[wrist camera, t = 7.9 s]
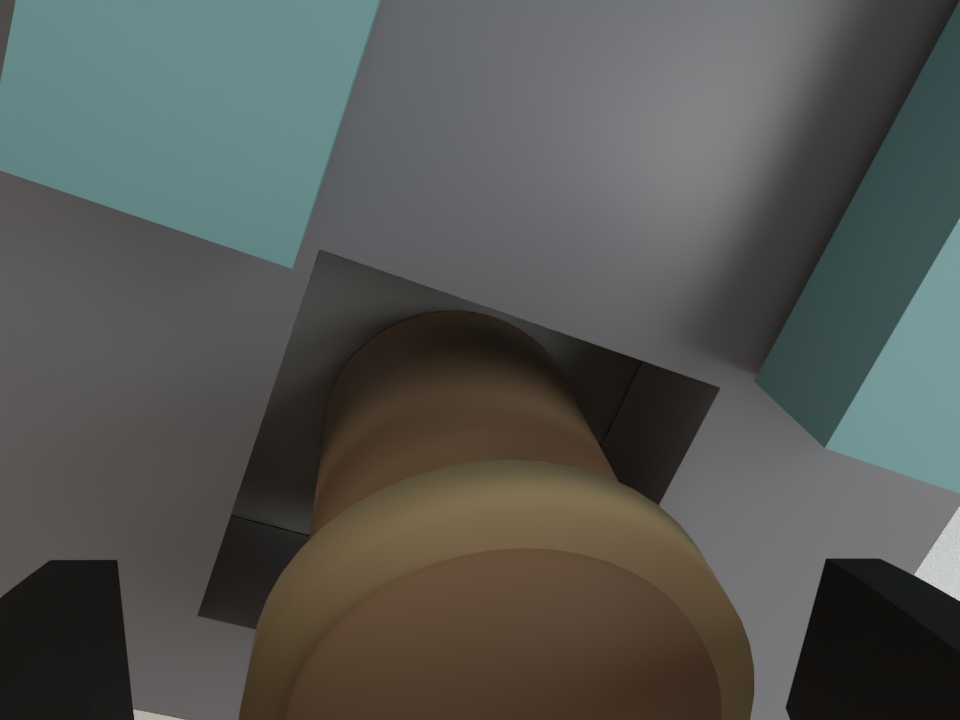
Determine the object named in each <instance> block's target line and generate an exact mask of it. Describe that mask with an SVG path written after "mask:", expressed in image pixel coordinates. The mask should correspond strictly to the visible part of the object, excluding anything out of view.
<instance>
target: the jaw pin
mask: <svg viewBox="0 0 960 720" xmlns="http://www.w3.org/2000/svg"><path fill="white" fill-rule="evenodd" d="M753 699H754V665H753V659H752V653H751V648H750V643H749V640H748V637H747V635H746V632H745V629H744V626H743V624H742V621H741V619H740V617H739V615H738V613H737V612H736V610H735V608H734V606H733V605H732V603H731V601H730V599H729V598H728V596H727V594H726V593H725V591H724V589H723V588H722V586H721V584H720V583H719V581H718V580H717V578H716V576H715V575H714V573H713V571H712V570H711V568H710V566H709V565H708V563H707V562H706V560H705V558H704V557H703V555H702V553H701V552H700V550H699V548H698V547H697V545H696V544H695V542H694V541H693V540H692V539H691V538H690V536H689V535H688V534H687V533H686V531H685V530H684V529H683V528H682V527H681V525H680V524H679V523H678V522H677V521H676V520H674V519H673V518H672V517H671V516H670V515H669V514H668V513H667V512H666V511H664V510H663V509H662V508H661V507H660V506H659V505H657V504H656V503H654V502H653V501H651V500H650V499H648V498H647V497H645V496H644V495H642V494H640V493H639V492H637V491H636V490H634V489H632V488H630V487H628V486H626V485H624V484H621V483H619V482H618V480H617V478H616V476H615V474H614V472H613V470H612V468H611V466H610V464H609V463H608V461H607V459H606V457H605V455H604V453H603V451H602V449H601V447H600V445H599V444H598V442H597V440H596V438H595V436H594V434H593V432H592V430H591V428H590V426H589V424H588V423H587V421H586V419H585V417H584V415H583V413H582V411H581V409H580V407H579V405H578V404H577V402H576V400H575V398H574V396H573V394H572V392H571V390H570V388H569V386H568V385H567V383H566V381H565V379H564V377H563V375H562V373H561V371H560V370H559V368H558V366H557V365H556V363H555V361H554V360H553V359H552V357H551V356H550V355H549V354H548V352H547V351H546V350H545V349H544V348H543V347H542V346H541V345H540V344H539V343H538V342H537V341H536V340H535V339H533V338H532V337H531V336H529V335H528V334H526V333H525V332H524V331H522V330H521V329H519V328H517V327H515V326H513V325H511V324H509V323H507V322H505V321H502V320H500V319H497V318H494V317H491V316H487V315H482V314H478V313H472V312H460V311H450V312H436V313H430V314H424V315H420V316H417V317H413V318H410V319H407V320H404V321H402V322H400V323H397V324H395V325H393V326H391V327H389V328H387V329H386V330H384V331H382V332H381V333H379V334H377V335H376V336H375V337H373V338H372V339H371V340H369V341H368V342H367V343H366V344H364V345H363V346H362V347H361V348H360V349H359V350H358V351H357V352H356V353H355V354H354V355H353V356H352V358H351V359H350V360H349V362H348V363H347V364H346V366H345V367H344V368H343V370H342V371H341V373H340V375H339V377H338V379H337V381H336V382H335V384H334V387H333V390H332V392H331V395H330V398H329V402H328V407H327V411H326V418H325V425H324V433H323V440H322V448H321V455H320V463H319V470H318V478H317V485H316V492H315V500H314V507H313V515H312V522H311V530H310V537H309V541H308V542H307V543H306V544H305V545H304V546H303V547H302V548H301V549H300V550H299V551H298V553H297V554H296V555H295V557H294V558H293V559H292V560H291V562H290V563H289V564H288V565H287V567H286V568H285V569H284V571H283V572H282V573H281V575H280V577H279V578H278V580H277V582H276V584H275V585H274V587H273V589H272V591H271V592H270V594H269V596H268V598H267V600H266V603H265V605H264V608H263V610H262V613H261V616H260V618H259V621H258V624H257V628H256V633H255V638H254V642H253V647H252V652H251V657H250V662H249V667H248V672H247V677H246V682H245V687H244V692H243V697H242V702H241V707H240V712H239V720H750V718H751V712H752V706H753Z"/></svg>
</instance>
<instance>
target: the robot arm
mask: <svg viewBox="0 0 960 720" xmlns="http://www.w3.org/2000/svg"><path fill="white" fill-rule="evenodd" d="M786 711H787V713H788V716H789V718H790V720H960V601H958V600H956V599H955V598H953V597H951V596H949V595H948V594H946V593H944V592H942V591H941V590H939V589H937V588H936V587H934V586H932V585H930V584H928V583H927V582H925V581H923V580H921V579H919V578H917V577H916V576H914V575H912V574H910V573H908V572H906V571H904V570H902V569H900V568H898V567H896V566H894V565H892V564H890V563H888V562H886V561H884V560H882V559H880V558H830V559H826V560H825V564H824V568H823V571H822V575H821V579H820V582H819V586H818V590H817V593H816V597H815V601H814V604H813V608H812V612H811V615H810V619H809V623H808V627H807V630H806V634H805V638H804V641H803V645H802V649H801V652H800V656H799V660H798V663H797V667H796V671H795V675H794V678H793V682H792V686H791V689H790V693H789V697H788V700H787V704H786ZM0 720H134V714H133V704H132V695H131V685H130V676H129V666H128V657H127V647H126V638H125V628H124V619H123V609H122V600H121V590H120V581H119V571H118V562H117V560H49V561H48V562H47V563H45V564H44V565H43V566H41V567H40V568H38V569H37V570H36V571H34V572H33V573H32V574H30V575H29V576H28V577H26V578H25V579H24V580H22V581H21V582H20V583H18V584H17V585H16V586H15V587H13V588H12V589H11V590H9V591H8V592H7V593H6V594H4V595H3V596H2V597H1V598H0Z"/></svg>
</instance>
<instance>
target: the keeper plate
mask: <svg viewBox="0 0 960 720" xmlns="http://www.w3.org/2000/svg"><path fill="white" fill-rule="evenodd" d="M380 3H381V0H16V2H15V7H14V13H13V18H12V23H11V28H10V34H9V39H8V44H7V50H6V55H5V60H4V65H3V71H2V76H1V81H0V170H1V171H4V172H7V173H10V174H13V175H16V176H18V177H21V178H24V179H27V180H30V181H33V182H36V183H39V184H42V185H45V186H48V187H51V188H54V189H57V190H60V191H63V192H66V193H69V194H72V195H75V196H78V197H81V198H84V199H87V200H90V201H93V202H96V203H99V204H102V205H105V206H108V207H110V208H113V209H116V210H119V211H122V212H125V213H128V214H131V215H134V216H137V217H140V218H143V219H146V220H149V221H152V222H155V223H158V224H161V225H164V226H167V227H170V228H173V229H176V230H179V231H182V232H185V233H188V234H191V235H194V236H197V237H200V238H202V239H205V240H208V241H211V242H214V243H217V244H220V245H223V246H226V247H229V248H232V249H235V250H238V251H241V252H244V253H247V254H250V255H253V256H256V257H259V258H262V259H265V260H268V261H271V262H274V263H277V264H280V265H283V266H286V267H289V268H293V265H294V262H295V260H296V257H297V254H298V252H299V249H300V246H301V243H302V241H303V238H304V235H305V232H306V230H307V227H308V224H309V221H310V218H311V215H312V212H313V209H314V206H315V203H316V200H317V197H318V193H319V190H320V187H321V184H322V181H323V178H324V175H325V172H326V169H327V166H328V163H329V160H330V157H331V153H332V150H333V147H334V144H335V141H336V138H337V135H338V132H339V129H340V126H341V123H342V120H343V117H344V114H345V110H346V107H347V104H348V101H349V98H350V95H351V92H352V89H353V86H354V83H355V80H356V77H357V74H358V70H359V67H360V64H361V61H362V58H363V55H364V52H365V49H366V46H367V43H368V40H369V37H370V34H371V31H372V27H373V24H374V21H375V18H376V15H377V12H378V9H379V6H380ZM754 382H755V383H756V384H757V385H758V386H759V387H760V388H762V389H763V390H764V391H765V392H766V393H767V394H768V395H769V396H770V397H771V398H772V399H773V400H774V401H775V402H776V403H777V404H778V405H780V406H781V407H782V408H783V409H784V410H785V411H786V412H787V413H788V414H789V415H790V416H791V417H792V418H793V419H794V420H795V421H797V422H798V423H799V424H800V425H801V426H802V427H803V428H804V429H805V430H806V431H807V432H808V433H809V434H810V435H811V436H812V437H813V438H815V439H816V440H817V441H818V442H819V443H820V444H821V445H822V446H823V447H824V448H826V449H829V450H832V451H835V452H838V453H841V454H843V455H846V456H849V457H852V458H855V459H858V460H861V461H864V462H867V463H870V464H873V465H876V466H879V467H882V468H885V469H888V470H891V471H894V472H897V473H900V474H903V475H906V476H909V477H912V478H915V479H918V480H921V481H924V482H927V483H930V484H933V485H935V486H938V487H941V488H944V489H947V490H950V491H953V492H956V493H959V494H960V0H959V2H958V4H957V6H956V8H955V10H954V11H953V13H952V15H951V17H950V19H949V21H948V23H947V24H946V26H945V28H944V30H943V32H942V34H941V36H940V37H939V39H938V41H937V43H936V45H935V47H934V49H933V50H932V52H931V54H930V56H929V58H928V60H927V62H926V63H925V65H924V67H923V69H922V71H921V73H920V75H919V76H918V78H917V80H916V82H915V84H914V86H913V88H912V89H911V91H910V93H909V95H908V97H907V99H906V101H905V102H904V104H903V106H902V108H901V110H900V112H899V114H898V115H897V117H896V119H895V121H894V123H893V125H892V127H891V128H890V130H889V132H888V134H887V136H886V138H885V139H884V141H883V143H882V145H881V147H880V149H879V151H878V152H877V154H876V156H875V158H874V160H873V162H872V164H871V165H870V167H869V169H868V171H867V173H866V175H865V177H864V178H863V180H862V182H861V184H860V186H859V188H858V190H857V191H856V193H855V195H854V197H853V199H852V201H851V203H850V204H849V206H848V208H847V210H846V212H845V214H844V216H843V217H842V219H841V221H840V223H839V225H838V227H837V229H836V230H835V232H834V234H833V236H832V238H831V240H830V242H829V243H828V245H827V247H826V249H825V251H824V253H823V255H822V256H821V258H820V260H819V262H818V264H817V266H816V268H815V269H814V271H813V273H812V275H811V277H810V279H809V280H808V282H807V284H806V286H805V288H804V290H803V292H802V293H801V295H800V297H799V299H798V301H797V303H796V305H795V306H794V308H793V310H792V312H791V314H790V316H789V318H788V319H787V321H786V323H785V325H784V327H783V329H782V331H781V332H780V334H779V336H778V338H777V340H776V342H775V344H774V345H773V347H772V349H771V351H770V353H769V355H768V357H767V358H766V360H765V362H764V364H763V366H762V368H761V370H760V371H759V373H758V375H757V377H756V379H755V381H754Z"/></svg>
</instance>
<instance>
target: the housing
mask: <svg viewBox="0 0 960 720" xmlns="http://www.w3.org/2000/svg"><path fill="white" fill-rule="evenodd" d="M15 2H16V0H0V81H1V76H2V71H3V65H4V60H5V55H6V50H7V44H8V39H9V34H10V28H11V23H12V18H13V13H14V7H15ZM958 2H959V0H381V3H380V6H379V9H378V12H377V15H376V18H375V21H374V24H373V27H372V31H371V34H370V37H369V40H368V43H367V46H366V49H365V52H364V55H363V58H362V61H361V64H360V67H359V70H358V74H357V77H356V80H355V83H354V86H353V89H352V92H351V95H350V98H349V101H348V104H347V107H346V110H345V114H344V117H343V120H342V123H341V126H340V129H339V132H338V135H337V138H336V141H335V144H334V147H333V150H332V153H331V157H330V160H329V163H328V166H327V169H326V172H325V175H324V178H323V181H322V184H321V187H320V190H319V193H318V197H317V200H316V203H315V206H314V209H313V212H312V215H311V218H310V221H309V224H308V227H307V230H306V232H305V235H304V238H303V241H302V243H301V246H300V249H299V252H298V254H297V257H296V260H295V262H294V265H293V268H289V267H286V266H283V265H280V264H277V263H274V262H271V261H268V260H265V259H262V258H259V257H256V256H253V255H250V254H247V253H244V252H241V251H238V250H235V249H232V248H229V247H226V246H223V245H220V244H217V243H214V242H211V241H208V240H205V239H202V238H200V237H197V236H194V235H191V234H188V233H185V232H182V231H179V230H176V229H173V228H170V227H167V226H164V225H161V224H158V223H155V222H152V221H149V220H146V219H143V218H140V217H137V216H134V215H131V214H128V213H125V212H122V211H119V210H116V209H113V208H110V207H108V206H105V205H102V204H99V203H96V202H93V201H90V200H87V199H84V198H81V197H78V196H75V195H72V194H69V193H66V192H63V191H60V190H57V189H54V188H51V187H48V186H45V185H42V184H39V183H36V182H33V181H30V180H27V179H24V178H21V177H18V176H16V175H13V174H10V173H7V172H4V171H1V170H0V598H1V597H2V596H3V595H4V594H6V593H7V592H8V591H9V590H11V589H12V588H13V587H15V586H16V585H17V584H18V583H20V582H21V581H22V580H24V579H25V578H26V577H28V576H29V575H30V574H32V573H33V572H34V571H36V570H37V569H38V568H40V567H41V566H43V565H44V564H45V563H47V562H48V561H49V560H117V562H118V571H119V581H120V590H121V600H122V609H123V619H124V628H125V638H126V647H127V657H128V666H129V676H130V685H131V695H132V704H133V709H136V710H141V711H146V712H151V713H156V714H161V715H166V716H171V717H176V718H181V719H186V720H239V712H240V707H241V702H242V697H243V692H244V687H245V682H246V677H247V672H248V667H249V662H250V657H251V652H252V647H253V642H254V638H255V633H256V628H257V624H258V621H259V618H260V616H261V613H262V610H263V608H264V605H265V603H266V600H267V598H268V596H269V594H270V592H271V591H272V589H273V587H274V585H275V584H276V582H277V580H278V578H279V577H280V575H281V573H282V572H283V571H284V569H285V568H286V567H287V565H288V564H289V563H290V562H291V560H292V559H293V558H294V557H295V555H296V554H297V553H298V551H299V550H300V549H301V548H302V547H303V546H304V545H305V544H306V543H307V542H308V541H309V536H305V535H301V534H298V533H294V532H290V531H286V530H282V529H278V528H275V527H271V526H267V525H263V524H259V523H255V522H252V521H248V520H244V519H240V518H236V517H232V516H231V513H232V510H233V507H234V504H235V501H236V498H237V495H238V492H239V489H240V486H241V483H242V480H243V477H244V474H245V471H246V468H247V465H248V462H249V459H250V456H251V453H252V450H253V447H254V444H255V441H256V438H257V435H258V432H259V429H260V426H261V423H262V420H263V417H264V414H265V411H266V408H267V405H268V402H269V399H270V396H271V393H272V390H273V387H274V384H275V381H276V378H277V375H278V372H279V369H280V366H281V363H282V360H283V357H284V354H285V351H286V348H287V345H288V342H289V339H290V336H291V333H292V330H293V327H294V324H295V321H296V318H297V315H298V312H299V309H300V306H301V303H302V300H303V297H304V294H305V291H306V288H307V285H308V282H309V279H310V276H311V273H312V270H313V267H314V264H315V261H316V258H317V255H318V252H319V249H320V250H323V251H326V252H329V253H332V254H335V255H338V256H340V257H343V258H346V259H349V260H352V261H355V262H358V263H361V264H364V265H366V266H369V267H372V268H375V269H378V270H381V271H384V272H387V273H390V274H393V275H395V276H398V277H401V278H404V279H407V280H410V281H413V282H416V283H419V284H421V285H424V286H427V287H430V288H433V289H436V290H439V291H442V292H445V293H448V294H450V295H453V296H456V297H459V298H462V299H465V300H468V301H471V302H474V303H476V304H479V305H482V306H485V307H488V308H491V309H494V310H497V311H500V312H503V313H505V314H508V315H511V316H514V317H517V318H520V319H523V320H526V321H529V322H532V323H534V324H537V325H540V326H543V327H546V328H549V329H552V330H555V331H558V332H560V333H563V334H566V335H569V336H572V337H575V338H578V339H581V340H584V341H587V342H589V343H592V344H595V345H598V346H601V347H604V348H607V349H610V350H613V351H615V352H618V353H621V354H624V355H627V356H630V357H633V358H636V359H639V360H642V361H643V362H642V364H641V366H640V368H639V370H638V372H637V374H636V376H635V378H634V380H633V382H632V384H631V386H630V388H629V390H628V392H627V394H626V396H625V399H624V401H623V403H622V405H621V407H620V409H619V411H618V413H617V415H616V417H615V419H614V421H613V423H612V425H611V427H610V429H609V431H608V433H607V436H606V438H605V440H604V442H603V444H602V446H601V449H602V451H603V453H604V455H605V457H606V459H607V461H608V463H609V464H610V466H611V468H612V470H613V472H614V474H615V476H616V478H617V480H618V482H619V483H621V484H624V485H626V486H628V487H630V488H632V489H634V490H636V491H637V492H639V493H640V494H642V495H644V496H645V497H647V498H648V499H650V500H651V501H653V502H654V503H656V504H657V505H659V506H660V507H661V508H662V509H663V510H664V511H666V512H667V513H668V514H669V515H670V516H671V517H672V518H673V519H674V520H676V521H677V522H678V523H679V524H680V525H681V527H682V528H683V529H684V530H685V531H686V533H687V534H688V535H689V536H690V538H691V539H692V540H693V541H694V542H695V544H696V545H697V547H698V548H699V550H700V552H701V553H702V555H703V557H704V558H705V560H706V562H707V563H708V565H709V566H710V568H711V570H712V571H713V573H714V575H715V576H716V578H717V580H718V581H719V583H720V584H721V586H722V588H723V589H724V591H725V593H726V594H727V596H728V598H729V599H730V601H731V603H732V605H733V606H734V608H735V610H736V612H737V613H738V615H739V617H740V619H741V621H742V624H743V626H744V629H745V632H746V635H747V637H748V640H749V643H750V648H751V653H752V659H753V665H754V699H753V706H752V712H751V718H750V720H790V718H789V716H788V713H787V711H786V704H787V700H788V697H789V693H790V689H791V686H792V682H793V678H794V675H795V671H796V667H797V663H798V660H799V656H800V652H801V649H802V645H803V641H804V638H805V634H806V630H807V627H808V623H809V619H810V615H811V612H812V608H813V604H814V601H815V597H816V593H817V590H818V586H819V582H820V579H821V575H822V571H823V568H824V564H825V560H826V559H830V558H880V559H882V560H884V561H886V562H888V563H890V564H892V565H894V566H896V567H898V568H900V569H902V570H904V571H906V572H908V573H910V574H912V575H914V574H915V572H916V571H917V569H918V568H919V566H920V565H921V563H922V562H923V560H924V559H925V557H926V556H927V554H928V553H929V551H930V549H931V548H932V546H933V545H934V543H935V542H936V540H937V539H938V537H939V536H940V534H941V533H942V531H943V530H944V528H945V527H946V525H947V524H948V522H949V521H950V519H951V518H952V516H953V515H954V513H955V512H956V510H957V509H958V507H959V506H960V494H959V493H956V492H953V491H950V490H947V489H944V488H941V487H938V486H935V485H933V484H930V483H927V482H924V481H921V480H918V479H915V478H912V477H909V476H906V475H903V474H900V473H897V472H894V471H891V470H888V469H885V468H882V467H879V466H876V465H873V464H870V463H867V462H864V461H861V460H858V459H855V458H852V457H849V456H846V455H843V454H841V453H838V452H835V451H832V450H829V449H826V448H824V447H823V446H822V445H821V444H820V443H819V442H818V441H817V440H816V439H815V438H813V437H812V436H811V435H810V434H809V433H808V432H807V431H806V430H805V429H804V428H803V427H802V426H801V425H800V424H799V423H798V422H797V421H795V420H794V419H793V418H792V417H791V416H790V415H789V414H788V413H787V412H786V411H785V410H784V409H783V408H782V407H781V406H780V405H778V404H777V403H776V402H775V401H774V400H773V399H772V398H771V397H770V396H769V395H768V394H767V393H766V392H765V391H764V390H763V389H762V388H760V387H759V386H758V385H757V384H756V383H755V382H754V381H755V379H756V377H757V375H758V373H759V371H760V370H761V368H762V366H763V364H764V362H765V360H766V358H767V357H768V355H769V353H770V351H771V349H772V347H773V345H774V344H775V342H776V340H777V338H778V336H779V334H780V332H781V331H782V329H783V327H784V325H785V323H786V321H787V319H788V318H789V316H790V314H791V312H792V310H793V308H794V306H795V305H796V303H797V301H798V299H799V297H800V295H801V293H802V292H803V290H804V288H805V286H806V284H807V282H808V280H809V279H810V277H811V275H812V273H813V271H814V269H815V268H816V266H817V264H818V262H819V260H820V258H821V256H822V255H823V253H824V251H825V249H826V247H827V245H828V243H829V242H830V240H831V238H832V236H833V234H834V232H835V230H836V229H837V227H838V225H839V223H840V221H841V219H842V217H843V216H844V214H845V212H846V210H847V208H848V206H849V204H850V203H851V201H852V199H853V197H854V195H855V193H856V191H857V190H858V188H859V186H860V184H861V182H862V180H863V178H864V177H865V175H866V173H867V171H868V169H869V167H870V165H871V164H872V162H873V160H874V158H875V156H876V154H877V152H878V151H879V149H880V147H881V145H882V143H883V141H884V139H885V138H886V136H887V134H888V132H889V130H890V128H891V127H892V125H893V123H894V121H895V119H896V117H897V115H898V114H899V112H900V110H901V108H902V106H903V104H904V102H905V101H906V99H907V97H908V95H909V93H910V91H911V89H912V88H913V86H914V84H915V82H916V80H917V78H918V76H919V75H920V73H921V71H922V69H923V67H924V65H925V63H926V62H927V60H928V58H929V56H930V54H931V52H932V50H933V49H934V47H935V45H936V43H937V41H938V39H939V37H940V36H941V34H942V32H943V30H944V28H945V26H946V24H947V23H948V21H949V19H950V17H951V15H952V13H953V11H954V10H955V8H956V6H957V4H958Z"/></svg>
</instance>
